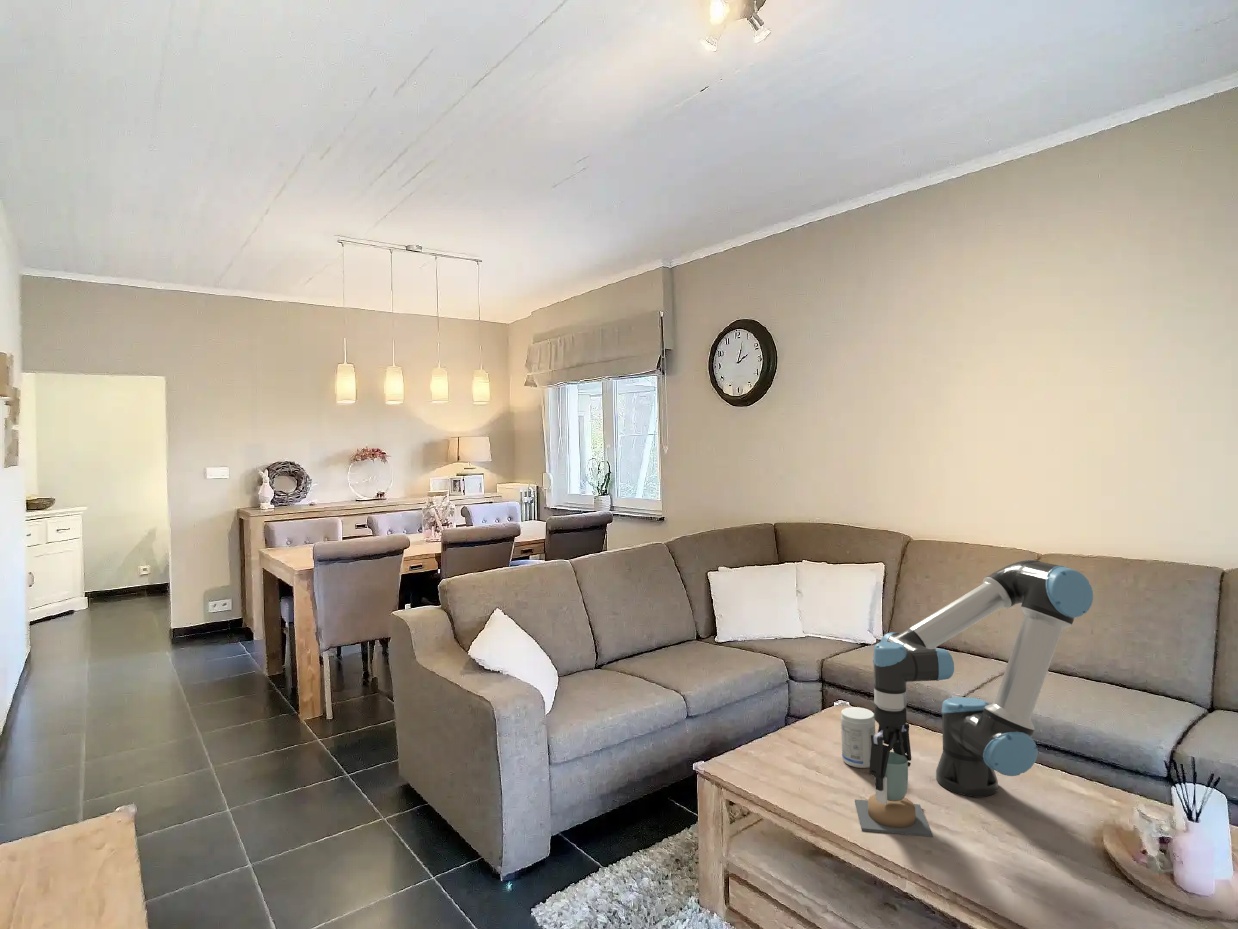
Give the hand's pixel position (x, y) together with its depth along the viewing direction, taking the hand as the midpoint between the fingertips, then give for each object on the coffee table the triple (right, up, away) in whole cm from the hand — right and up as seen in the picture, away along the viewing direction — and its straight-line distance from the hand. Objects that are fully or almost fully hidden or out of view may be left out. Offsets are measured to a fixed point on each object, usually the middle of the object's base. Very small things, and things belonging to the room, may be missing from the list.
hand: (891, 796), depth 172 cm
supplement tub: (+3, -5, +31) cm, 32 cm away
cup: (0, 0, 0) cm, 0 cm away
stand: (0, -6, 0) cm, 6 cm away
